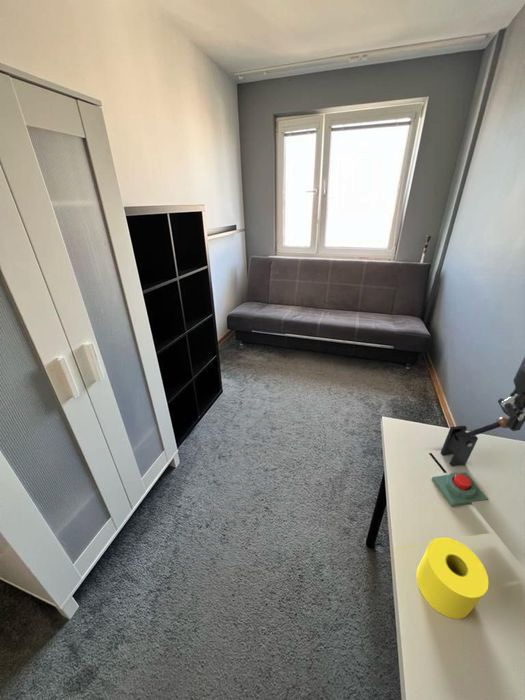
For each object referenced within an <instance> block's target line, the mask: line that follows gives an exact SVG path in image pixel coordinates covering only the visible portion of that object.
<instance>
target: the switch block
mask: <svg viewBox="0 0 525 700" xmlns="http://www.w3.org/2000/svg"><path fill="white" fill-rule="evenodd" d="M457 474H462V475H464V476H466V477H468V478H469V479H470V481H471V485H470V487H469V489H468V490H462V489H459V488H458V487H457V486H455V484H454V482H453V480H454V478H455V476H456V475H457ZM431 481H432V483H433V484H434V485H435V486H436V488H437V489H438V491H439V492H440V493H441V495H442V496H443V498H444V499H445V501H446V502H447V503H448V505H449V506H450V508H452V507H461V506H467V505H473V503H474V502H480V501H488V500H489V498H488V497H487V495H486V494H485V493H484V492H483V491H482V489H480V487H479V486H478V485H477V484H476V483H475V482H474V481H473V480H472V478H471V477H470V476H469V475H468V474H467V472H450V473H449V474H443V475H435V476H432V477H431Z"/></svg>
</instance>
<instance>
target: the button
mask: <svg viewBox="0 0 525 700" xmlns="http://www.w3.org/2000/svg"><path fill="white" fill-rule="evenodd" d="M453 482H454V484H455V486H457V487H458V488H459V489H462V490H468V489H469V487H470V485H471V481H470V479H469V478H468V477H466V476H464V475H462V474H457V475H456V476H455V478H454V480H453Z"/></svg>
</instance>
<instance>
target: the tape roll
mask: <svg viewBox="0 0 525 700" xmlns="http://www.w3.org/2000/svg"><path fill="white" fill-rule="evenodd" d="M415 574H416V575H415V576H416V577H415V578H416V583H417V584H416V585H417V586H418V589H419V590H420V593H421V595H422V596H423V598H424V599H425V601H426V602H427V603H428V604H429V606H431V608H433V609H434V610H435V611H436V612H437V613H439V614H441V615H443V616H445V617H446V618H449V619H454V620H461V619H464V618H465V617H467V616H468V615H469V614H470V613H471V611H472V610H473V609H474V608H475V607H476V605H477V604H478V603H479V601H480V600H481V599H482V597H483V596H484V595H486V593H487V591H488V588H489V575H488V573H487V570H486V568H485V566H484V564H483V562H482V561H481V560H480V558H479V557H478V556H477V554H476V553H474V552H473V550H471V548H469V547H467V546H466V545H464V544H463V543H462V542H460V541H459V540H456V539H453V538H450V537H446V536H444V537H443V536H441V537H436V538H433V539H432V540H431V541H430V542H429V544H428V546H427V548H426V550H425V552H424V554H423V557H422V558H421V560H420V562H419V564H418V566H417V569H416V572H415Z"/></svg>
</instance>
